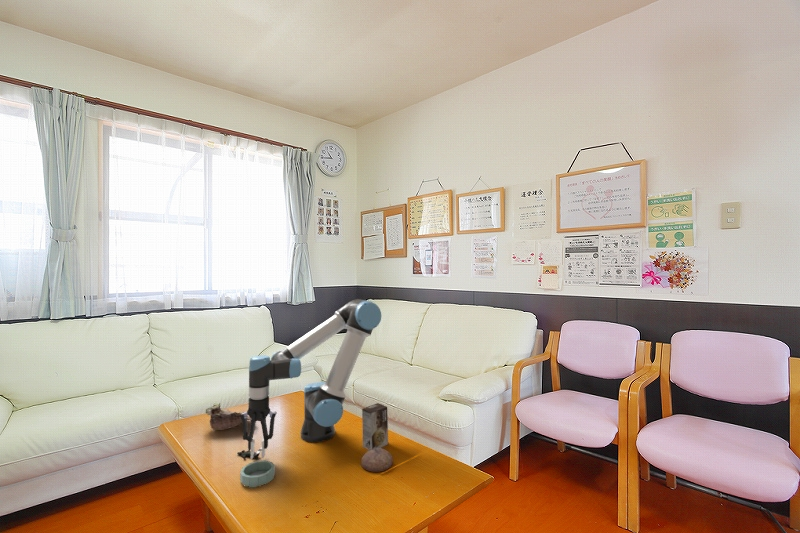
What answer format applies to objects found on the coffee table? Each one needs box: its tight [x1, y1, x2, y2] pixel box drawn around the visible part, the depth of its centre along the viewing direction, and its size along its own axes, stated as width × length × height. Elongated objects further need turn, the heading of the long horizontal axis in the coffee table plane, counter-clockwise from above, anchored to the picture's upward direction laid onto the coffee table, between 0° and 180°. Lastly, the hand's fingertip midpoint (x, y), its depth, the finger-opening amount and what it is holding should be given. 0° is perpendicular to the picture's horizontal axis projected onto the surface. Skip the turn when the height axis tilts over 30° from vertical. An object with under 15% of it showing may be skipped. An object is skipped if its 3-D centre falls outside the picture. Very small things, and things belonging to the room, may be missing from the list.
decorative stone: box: [360, 447, 394, 473], centre depth 144 cm, size 12×12×6 cm
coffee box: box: [361, 402, 389, 451], centre depth 160 cm, size 9×6×16 cm
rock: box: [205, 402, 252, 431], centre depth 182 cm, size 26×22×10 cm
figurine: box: [237, 446, 262, 459], centre depth 152 cm, size 6×4×12 cm
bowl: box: [239, 459, 276, 488], centre depth 136 cm, size 11×11×4 cm
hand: (257, 456), depth 149 cm, fingers closed on figurine, 3 cm apart
